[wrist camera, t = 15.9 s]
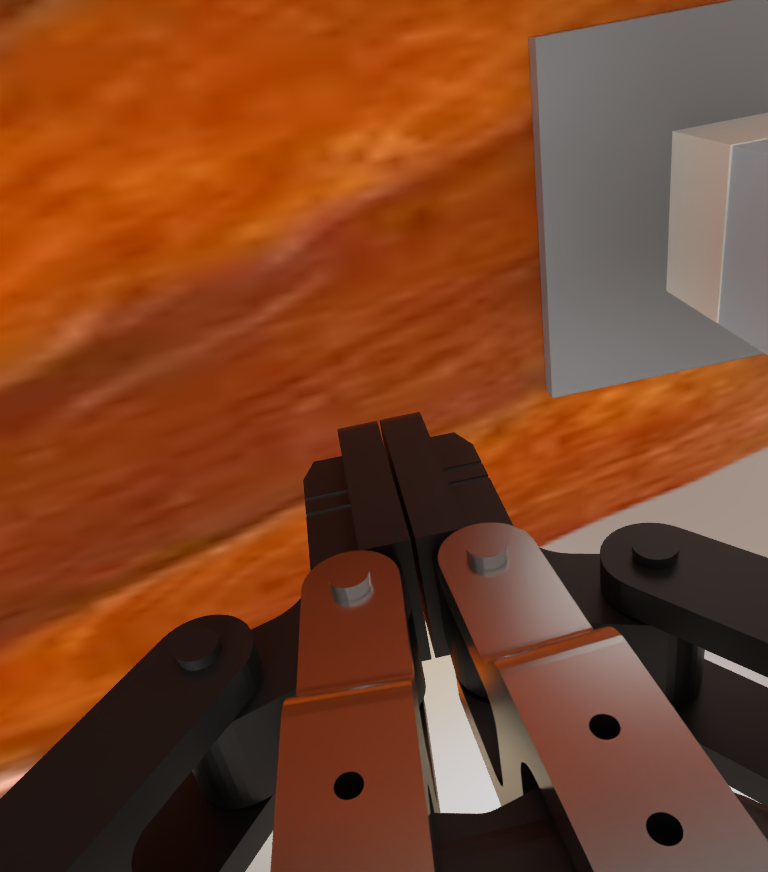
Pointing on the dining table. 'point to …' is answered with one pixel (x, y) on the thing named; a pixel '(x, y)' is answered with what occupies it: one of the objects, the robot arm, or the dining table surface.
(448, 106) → the dining table surface
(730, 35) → the charcoal baseplate
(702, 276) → the cream base brick
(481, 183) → the dining table surface
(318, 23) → the dining table surface
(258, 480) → the dining table surface
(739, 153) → the pale blue brick
